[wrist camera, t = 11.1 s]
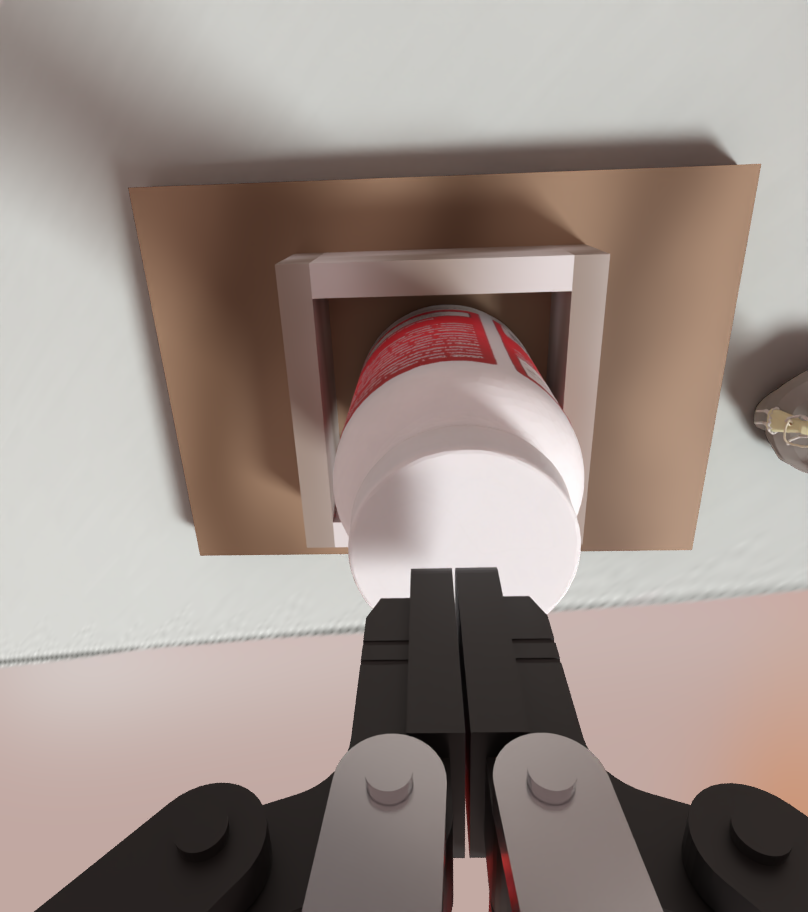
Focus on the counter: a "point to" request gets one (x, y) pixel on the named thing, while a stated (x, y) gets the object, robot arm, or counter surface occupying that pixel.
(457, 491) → the pill bottle
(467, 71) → the counter surface
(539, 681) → the robot arm
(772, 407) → the figurine
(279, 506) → the bottle holder
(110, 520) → the counter surface
